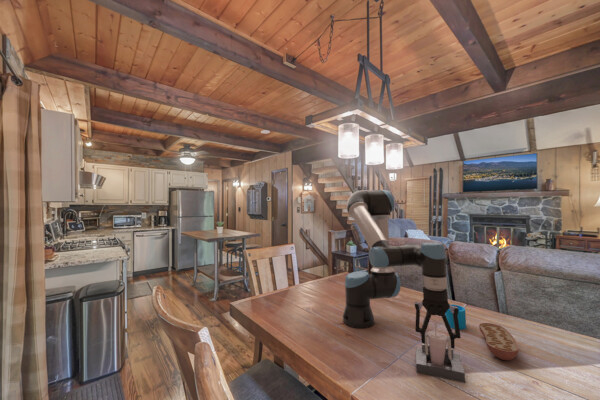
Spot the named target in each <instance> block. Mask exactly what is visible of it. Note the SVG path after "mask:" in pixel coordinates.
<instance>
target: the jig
mask: <svg viewBox="0 0 600 400" xmlns="http://www.w3.org/2000/svg"><path fill="white" fill-rule="evenodd" d="M451 356H452V359H449V356H448V346H446V351H445V358H444V364H448V365H449V366H446V365H443V366H441V365H436V364H432V363H430V362H428V361H427V360H429V361H431V356H430V348H429V343H428V355H426V350H425V344H423V343H422V342H421V347H420V346H419V347H418V346H416V347H415V365H416V366H415V367H416V373H417V374H422V375H427V376H430V377H431V376H432V377H435V378H440V379H445V380H449V381H450V380H451V381H455V382H459V383H462V384H463V383H464V384H466V372H465V369H464V366H463V362H462V359H461V356H460V354H457V353H454V349H453V348H451Z"/></svg>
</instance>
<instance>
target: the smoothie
mask: <svg viewBox="0 0 600 400" xmlns="http://www.w3.org/2000/svg"><path fill="white" fill-rule="evenodd" d="M447 336H448V335H446V334H445V333H443V332H440V331H438V323H437V321H435V322H434V330H429V331H427V341H428V344H429V348H430V356H431V360H430V361H431V364H436V365H441V366H445V365H444V364H445V363H444V358H445V351H446V347H447V345H448V337H447Z"/></svg>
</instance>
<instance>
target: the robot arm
mask: <svg viewBox="0 0 600 400" xmlns="http://www.w3.org/2000/svg"><path fill="white" fill-rule="evenodd" d="M395 204H396V203H395V199H394V196H393V194H392V193H391V192H390V191H389V190H386V189H385V190H384V189H367V190H363V189H362V190H361V189H360V190H357V191H355V192H353V193H352V194H351V195H350V196H349V197H348V199H347V201H346V210H347V211H346V212H347V213H348V215H349V217H350V218H352V219H353V220H354V222H355V223H356V225H357V227H358V229H359V230H360V232H361V234H362V236H363V238H364V239H365V242H366V243H367V245H368V247H369V250H368V259H369V264H370V265H371V266H372V268H370V273H369V272H367V271H362V270H361V271H353V272H350V273H348V274H346V276H345V278H344V279H345V280H344V282H345V283H344V287H345V289H344V290H345V308H344V311H343V314H342V322H343V323H344V324H345V325H346V326H348V327H350V326H351V328H354V327H355V328H356V329H367V328H371V327H372V326H374V324H375V316H374V313H373V310H372V308H371V300H377V299H390V298H395V297H397V296H398V295H399V293H400V291H401V285H402V284H401V279H400V276H399V275H398V273H396V272H395V269H394V267H404V266H405V267H406V266H417V267H418V266H419V267H421V271H422V272H421V275H422V278H421V279H422V286H423V287H422V295H423V296H422V297H423V300H422V301H420V302H418V301H414V308H415V332H416V333H419V334H420V337H421V338H420V339H421V344H422V343H423V344H425V350H426V355H428V344H429V340H428V337H427V333H428V331H427V329H428V325H429V323H430V319H431V318H432V316H438V317H441V318H442V321H443V324H444V326H445V328H446V331H447V334H448V335H446V336H447V337H448V342H447V347H448V356H449V359H452V356H451V348H453V350H455V347H456V346H455V345H456V344H455V342H456V341H455V340H456V339H461V332H460V331H461V330H460V329H459V323H458V312H459V310H458V307H457V306H451V305H449V304H450V303H449V301H448V300H449V299H448V298H449V297H448V296H449V294H448V289H447V288H448V281H447V254H446V250H445V249H446V247H445V245H444V244H443V243H441V242H433V241H432V242H431V241H428V242H427V241H424V242H422V243H421V245H420V244H416V243H406V244H404V245H391V244H390V235H389V234H390V233H389V218H390V217H391V215H392V214H391V213H393V212H394V210H395V207H396V205H395ZM422 307H424V308H425V310H426V313H425V317H424V320H423V322H422V324H421V327H420V322H421V321H420V317H421V309H422ZM448 309H450V310H451V312H452V313H453V320H454V327H455V329H454V332H453V330H452V328H451V327H450V325H449V322H448V320H447V317H446V315H445V313H446V312H447V311H448ZM426 331H427V332H426Z"/></svg>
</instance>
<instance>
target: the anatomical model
mask: <svg viewBox="0 0 600 400" xmlns="http://www.w3.org/2000/svg"><path fill="white" fill-rule="evenodd" d="M478 328H479V331H480V333H481V334H482V335H483V336H484V338H485V340H486V341H485V342H486V347H487V348H488V351H489V352H490V353H491V354H492V355H493V356H494V357H496V358H497V359H500V360H503V361H511V360H513V359H515V358H516V357H517V355H518V351H519V347H518V343H517V341H516V339H515V338H514V336H512V334H511V332H509V331H508V330H507V329H506V328H505V327H503V326H501V325H498V324H495V323H489V322H482V323H479V324H478Z"/></svg>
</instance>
